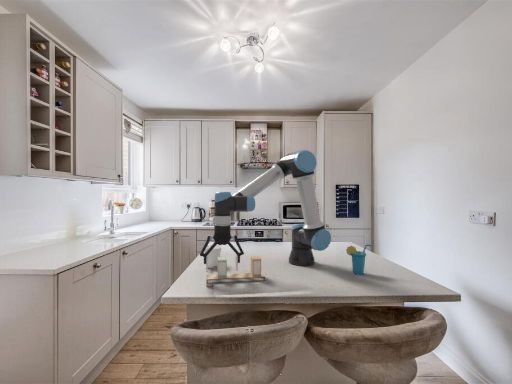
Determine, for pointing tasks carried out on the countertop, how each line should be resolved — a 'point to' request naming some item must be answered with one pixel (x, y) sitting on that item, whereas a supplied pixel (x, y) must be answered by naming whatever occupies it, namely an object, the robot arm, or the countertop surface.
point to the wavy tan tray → (232, 278)
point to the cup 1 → (213, 256)
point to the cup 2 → (357, 259)
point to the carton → (222, 268)
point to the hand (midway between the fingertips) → (221, 270)
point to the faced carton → (255, 266)
